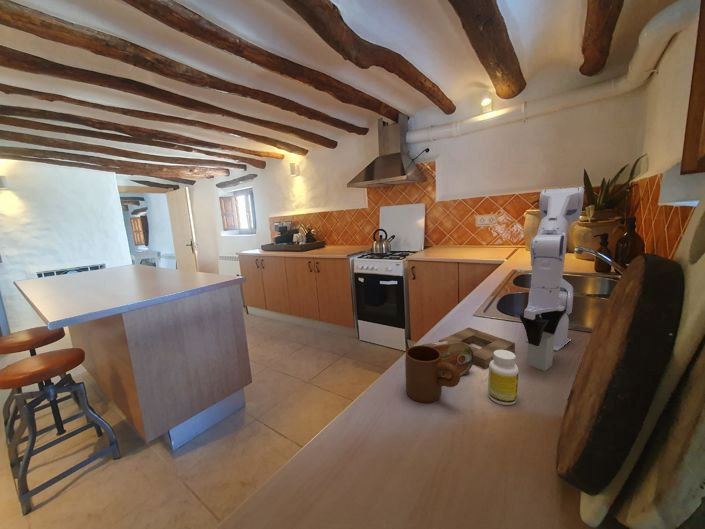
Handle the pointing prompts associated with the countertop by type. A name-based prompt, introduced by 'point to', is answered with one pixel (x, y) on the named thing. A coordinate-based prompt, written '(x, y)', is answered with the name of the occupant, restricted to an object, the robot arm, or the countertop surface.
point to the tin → (454, 355)
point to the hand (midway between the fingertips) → (541, 339)
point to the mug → (427, 373)
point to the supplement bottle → (503, 378)
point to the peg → (541, 352)
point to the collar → (484, 340)
